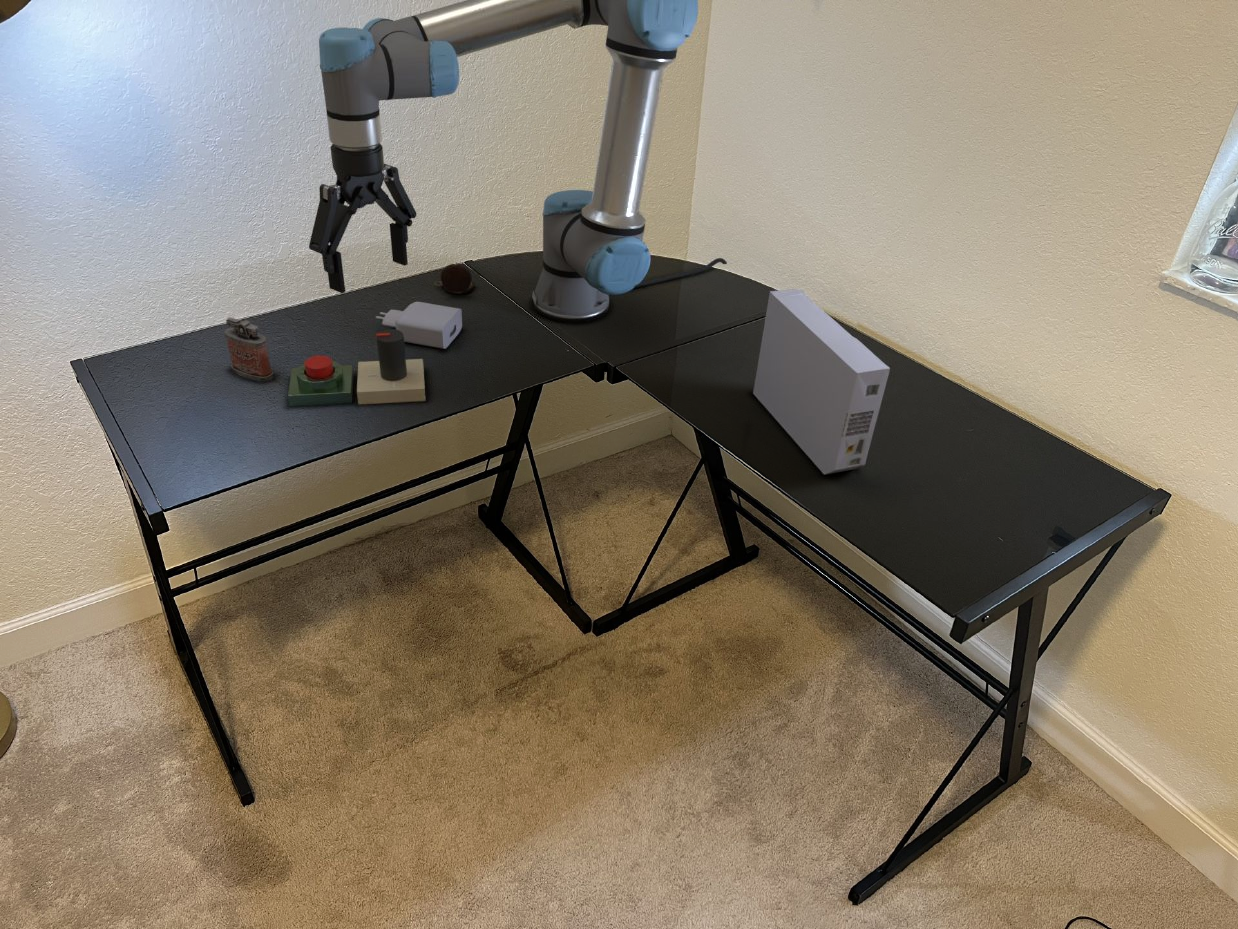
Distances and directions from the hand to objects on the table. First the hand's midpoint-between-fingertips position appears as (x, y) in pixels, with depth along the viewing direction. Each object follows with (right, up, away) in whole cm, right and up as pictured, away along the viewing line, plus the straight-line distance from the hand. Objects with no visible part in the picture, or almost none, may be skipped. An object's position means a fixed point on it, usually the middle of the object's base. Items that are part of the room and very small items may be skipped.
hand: (369, 276), depth 152 cm
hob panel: (+1, -17, +10) cm, 20 cm away
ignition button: (-10, -15, +6) cm, 19 cm away
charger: (+2, -6, +26) cm, 27 cm away
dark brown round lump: (+6, +5, +42) cm, 42 cm away
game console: (+71, -25, +6) cm, 76 cm away
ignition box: (-10, -18, +8) cm, 22 cm away
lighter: (-23, -15, +11) cm, 30 cm away
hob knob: (+2, -15, +9) cm, 17 cm away
